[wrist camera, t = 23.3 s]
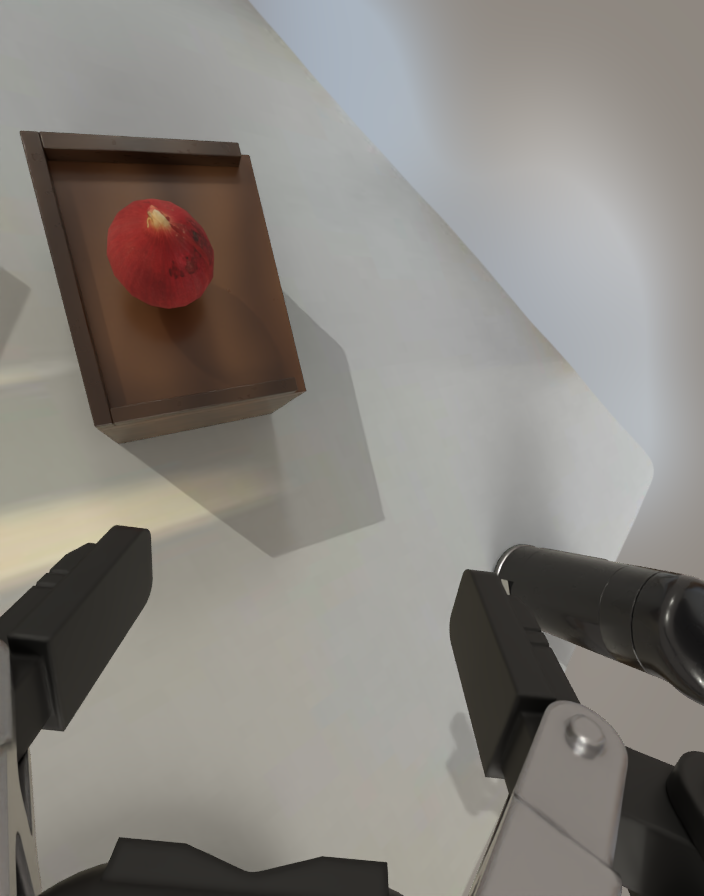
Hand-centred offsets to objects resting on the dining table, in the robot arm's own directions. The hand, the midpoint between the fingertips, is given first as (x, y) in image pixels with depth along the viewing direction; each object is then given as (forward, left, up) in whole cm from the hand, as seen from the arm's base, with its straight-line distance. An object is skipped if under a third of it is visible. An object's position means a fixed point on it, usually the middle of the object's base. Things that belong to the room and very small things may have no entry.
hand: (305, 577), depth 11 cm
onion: (0, -16, -20) cm, 26 cm away
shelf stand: (-1, -16, -32) cm, 36 cm away
